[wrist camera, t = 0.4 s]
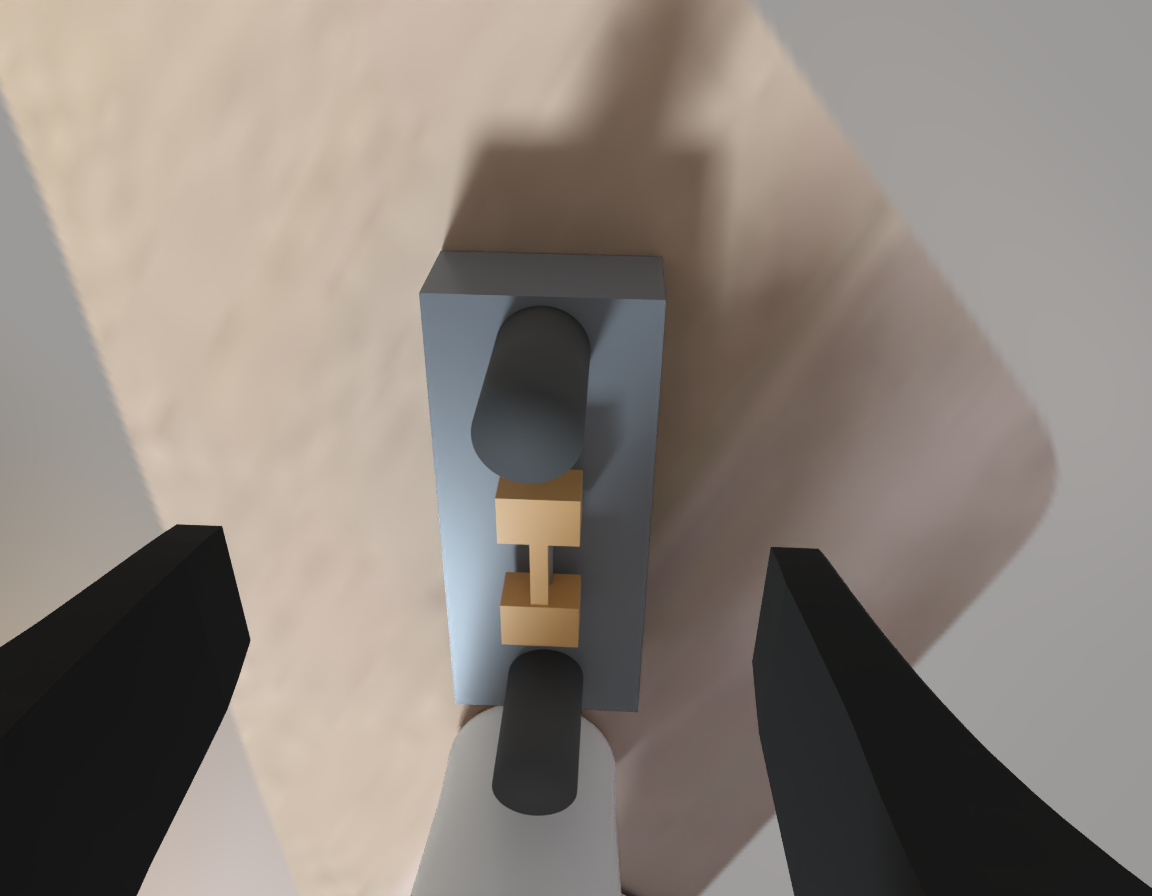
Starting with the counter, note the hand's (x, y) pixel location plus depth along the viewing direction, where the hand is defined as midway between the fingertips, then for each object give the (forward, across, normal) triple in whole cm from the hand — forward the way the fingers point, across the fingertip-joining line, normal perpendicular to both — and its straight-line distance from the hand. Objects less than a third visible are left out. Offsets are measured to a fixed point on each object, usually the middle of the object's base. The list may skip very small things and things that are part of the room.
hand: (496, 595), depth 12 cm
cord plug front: (+8, 0, 0) cm, 8 cm away
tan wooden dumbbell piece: (+8, 0, +5) cm, 9 cm away
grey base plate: (+10, 0, +5) cm, 12 cm away
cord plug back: (+8, 0, +10) cm, 13 cm away
